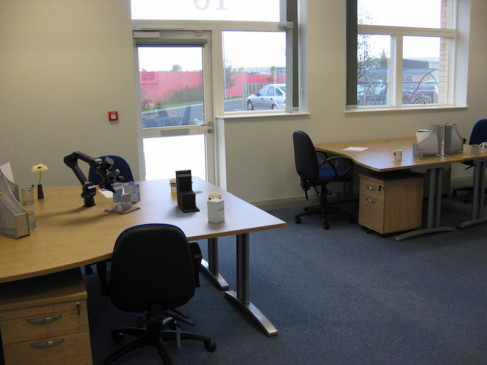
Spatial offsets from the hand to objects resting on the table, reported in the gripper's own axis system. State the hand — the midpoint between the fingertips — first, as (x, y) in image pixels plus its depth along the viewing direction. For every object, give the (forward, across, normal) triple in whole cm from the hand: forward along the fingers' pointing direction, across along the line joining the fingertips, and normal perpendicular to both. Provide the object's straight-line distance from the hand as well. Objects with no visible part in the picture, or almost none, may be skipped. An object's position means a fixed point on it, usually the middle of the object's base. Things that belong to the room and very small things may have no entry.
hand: (119, 192), depth 302 cm
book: (+4, 0, +6) cm, 7 cm away
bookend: (+36, +21, -19) cm, 46 cm away
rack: (+10, 0, +7) cm, 12 cm away
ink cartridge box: (+2, +21, +15) cm, 26 cm away
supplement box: (+60, +3, -43) cm, 73 cm away
